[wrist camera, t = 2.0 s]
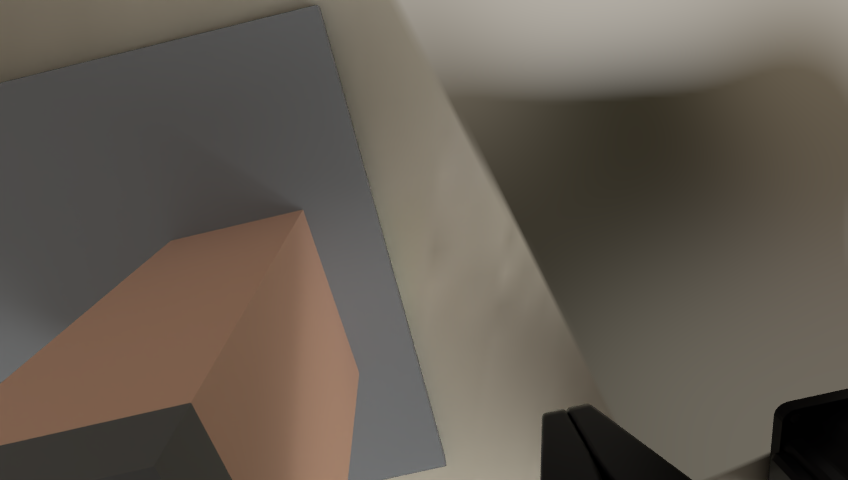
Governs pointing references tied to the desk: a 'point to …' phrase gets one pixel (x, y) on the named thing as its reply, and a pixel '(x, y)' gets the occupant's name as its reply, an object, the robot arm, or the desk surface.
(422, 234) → the desk surface
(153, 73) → the rubber mat
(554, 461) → the robot arm
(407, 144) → the desk surface
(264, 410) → the terracotta block
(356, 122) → the desk surface
